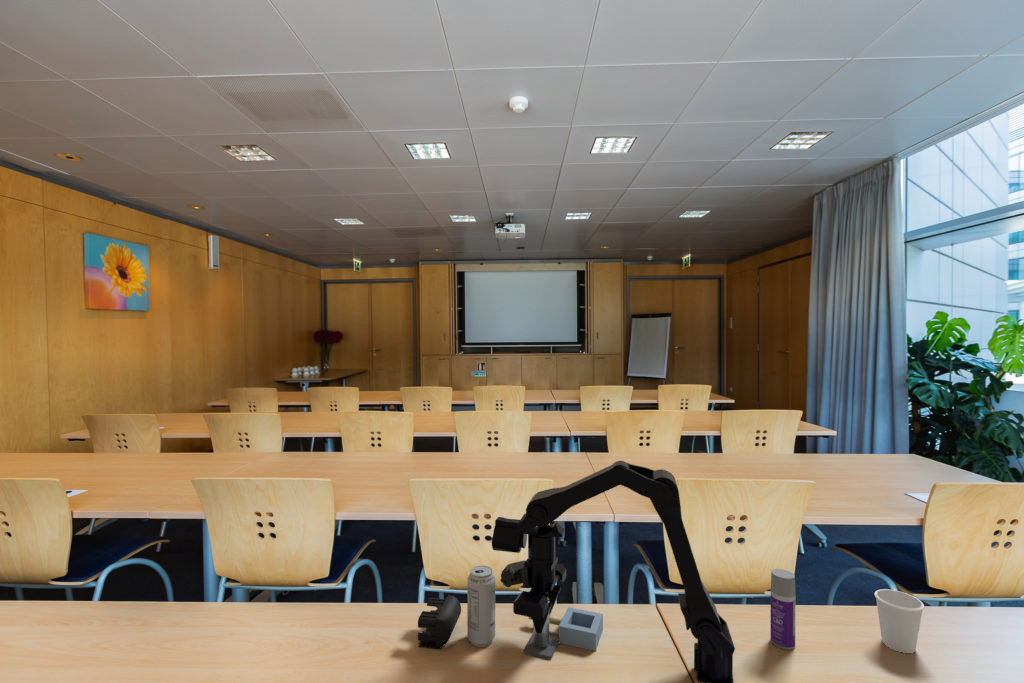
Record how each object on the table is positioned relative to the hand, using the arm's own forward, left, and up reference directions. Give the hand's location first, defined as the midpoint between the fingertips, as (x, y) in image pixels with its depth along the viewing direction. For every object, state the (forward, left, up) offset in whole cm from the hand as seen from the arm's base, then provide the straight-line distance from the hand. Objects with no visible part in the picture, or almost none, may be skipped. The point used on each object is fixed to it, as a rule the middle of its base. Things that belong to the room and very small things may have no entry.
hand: (541, 628), depth 104 cm
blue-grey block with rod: (-3, -7, -4) cm, 9 cm away
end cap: (+22, +4, -4) cm, 23 cm away
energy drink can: (+13, +2, -4) cm, 14 cm away
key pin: (0, 0, -3) cm, 3 cm away
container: (-48, -20, -4) cm, 52 cm away
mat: (0, 0, -4) cm, 4 cm away
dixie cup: (-71, -28, -4) cm, 76 cm away
